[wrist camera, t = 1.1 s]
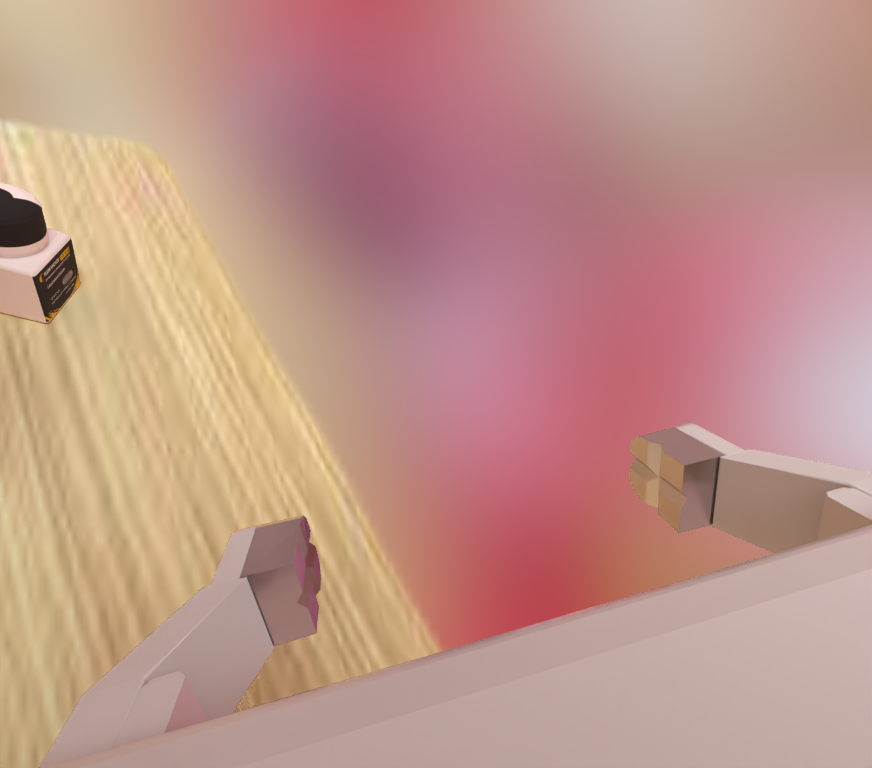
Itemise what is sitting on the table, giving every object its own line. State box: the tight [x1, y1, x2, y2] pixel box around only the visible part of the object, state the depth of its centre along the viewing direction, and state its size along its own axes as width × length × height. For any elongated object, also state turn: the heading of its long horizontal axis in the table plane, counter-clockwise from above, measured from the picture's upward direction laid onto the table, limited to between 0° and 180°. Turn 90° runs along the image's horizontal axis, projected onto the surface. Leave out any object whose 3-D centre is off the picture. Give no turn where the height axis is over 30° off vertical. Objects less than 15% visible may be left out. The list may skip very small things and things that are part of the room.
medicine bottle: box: [0, 182, 80, 323], centre depth 41 cm, size 7×7×12 cm
